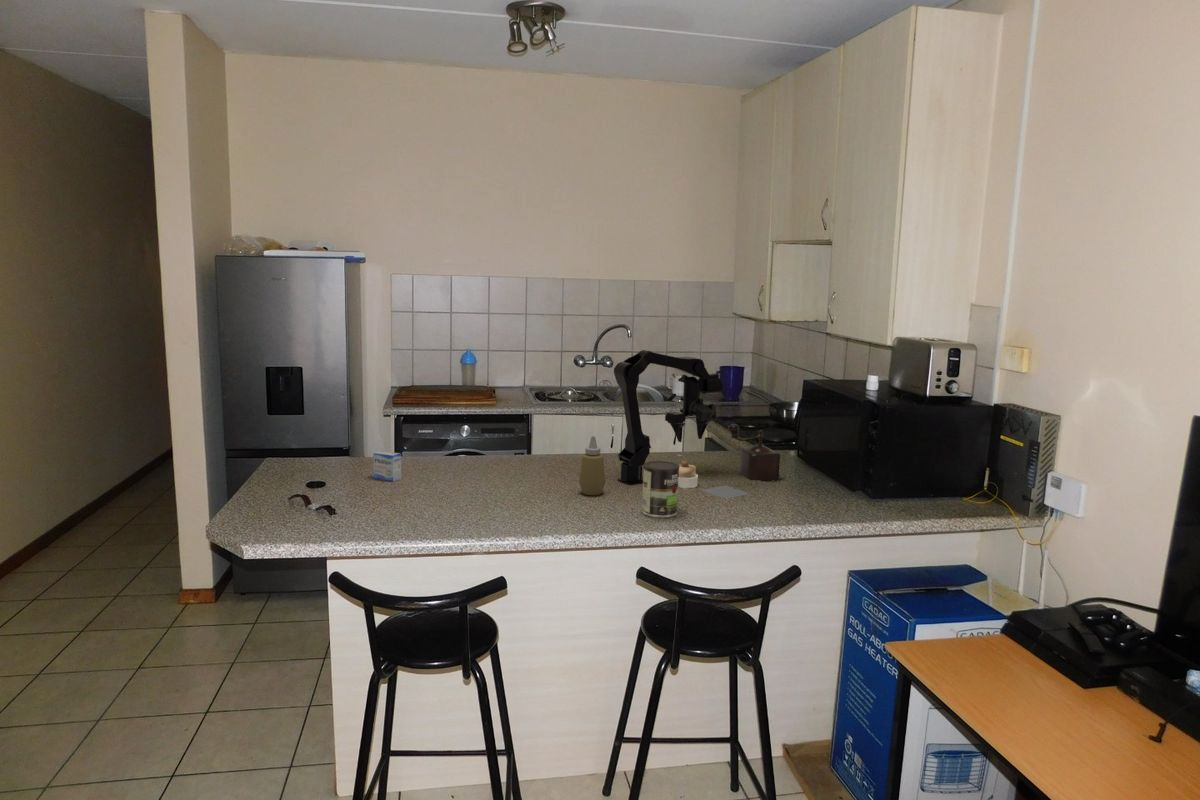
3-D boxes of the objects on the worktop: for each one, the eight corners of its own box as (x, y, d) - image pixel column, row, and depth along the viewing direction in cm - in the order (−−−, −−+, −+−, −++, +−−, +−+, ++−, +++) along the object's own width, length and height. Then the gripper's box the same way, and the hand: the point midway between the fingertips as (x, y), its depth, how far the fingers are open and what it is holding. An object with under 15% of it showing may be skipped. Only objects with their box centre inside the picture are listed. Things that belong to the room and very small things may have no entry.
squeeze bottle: (609, 491, 249) (610, 435, 246) (598, 498, 242) (599, 440, 238) (585, 488, 252) (587, 432, 249) (574, 494, 245) (575, 437, 242)
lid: (684, 478, 252) (684, 464, 251) (669, 474, 257) (670, 460, 256) (699, 475, 256) (700, 461, 255) (685, 471, 261) (685, 457, 260)
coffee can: (684, 512, 230) (686, 465, 227) (662, 520, 222) (664, 471, 220) (656, 504, 237) (658, 458, 234) (634, 512, 229) (635, 464, 227)
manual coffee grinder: (764, 472, 277) (767, 421, 274) (779, 480, 267) (782, 428, 264) (723, 474, 273) (726, 423, 270) (736, 483, 263) (739, 429, 260)
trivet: (725, 500, 242) (725, 499, 242) (700, 492, 251) (700, 490, 251) (750, 495, 249) (750, 493, 249) (724, 487, 257) (724, 485, 257)
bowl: (684, 491, 251) (684, 479, 251) (667, 485, 258) (667, 474, 257) (702, 488, 256) (702, 476, 256) (685, 482, 263) (685, 470, 262)
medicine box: (373, 479, 257) (372, 452, 255) (381, 475, 261) (381, 450, 260) (393, 482, 254) (392, 455, 253) (401, 478, 258) (401, 452, 257)
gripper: (687, 400, 255) (685, 448, 257) (728, 396, 266) (726, 441, 268) (664, 395, 263) (663, 441, 266) (705, 391, 274) (703, 435, 277)
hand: (689, 440), depth 269 cm, fingers open, 9 cm apart
